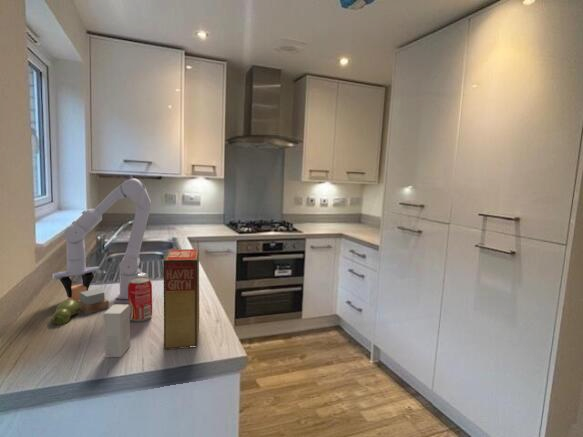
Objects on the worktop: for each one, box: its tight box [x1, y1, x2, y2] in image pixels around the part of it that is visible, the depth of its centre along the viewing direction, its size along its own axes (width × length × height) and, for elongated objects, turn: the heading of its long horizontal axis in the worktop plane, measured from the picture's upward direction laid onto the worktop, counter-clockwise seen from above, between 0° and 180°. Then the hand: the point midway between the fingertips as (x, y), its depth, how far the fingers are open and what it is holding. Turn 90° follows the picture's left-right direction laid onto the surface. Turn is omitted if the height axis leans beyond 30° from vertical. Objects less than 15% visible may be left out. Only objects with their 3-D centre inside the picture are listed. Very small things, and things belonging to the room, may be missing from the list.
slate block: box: [80, 288, 106, 305], centre depth 117 cm, size 6×6×3 cm
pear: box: [52, 299, 79, 325], centre depth 108 cm, size 6×5×10 cm
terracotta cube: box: [67, 283, 87, 303], centre depth 124 cm, size 4×4×4 cm
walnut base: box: [77, 298, 110, 315], centre depth 118 cm, size 7×7×3 cm
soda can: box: [127, 276, 153, 323], centre depth 111 cm, size 7×7×13 cm
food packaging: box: [162, 248, 200, 350], centre depth 99 cm, size 13×9×25 cm
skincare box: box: [103, 304, 131, 358], centre depth 90 cm, size 6×4×12 cm
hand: (77, 295), depth 124 cm, fingers closed on terracotta cube, 4 cm apart
